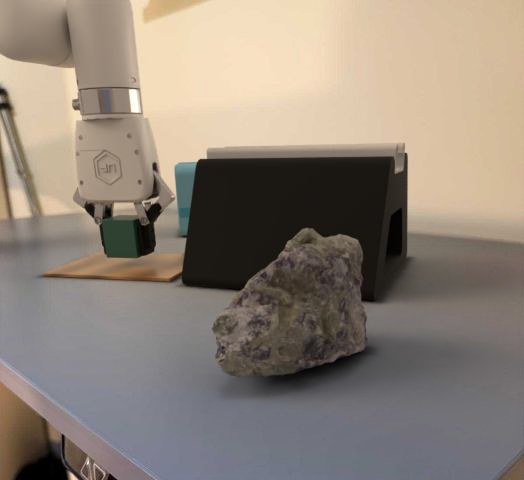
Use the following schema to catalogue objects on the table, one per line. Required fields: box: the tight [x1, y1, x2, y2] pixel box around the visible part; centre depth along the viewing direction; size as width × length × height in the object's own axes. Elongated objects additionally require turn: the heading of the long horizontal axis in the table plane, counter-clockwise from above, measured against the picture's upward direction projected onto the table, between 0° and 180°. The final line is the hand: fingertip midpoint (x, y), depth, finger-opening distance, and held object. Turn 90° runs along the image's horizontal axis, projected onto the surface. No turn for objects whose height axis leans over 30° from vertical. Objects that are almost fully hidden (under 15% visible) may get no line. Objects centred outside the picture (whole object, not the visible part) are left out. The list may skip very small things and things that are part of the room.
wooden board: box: [42, 251, 184, 282], centre depth 74 cm, size 18×14×1 cm
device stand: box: [180, 142, 409, 302], centre depth 66 cm, size 22×22×15 cm
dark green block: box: [102, 214, 142, 258], centre depth 73 cm, size 5×5×5 cm
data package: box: [173, 161, 198, 237], centre depth 98 cm, size 12×4×12 cm, turn 4°
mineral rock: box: [210, 228, 368, 378], centre depth 40 cm, size 13×11×10 cm
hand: (129, 251), depth 73 cm, fingers closed on dark green block, 4 cm apart
